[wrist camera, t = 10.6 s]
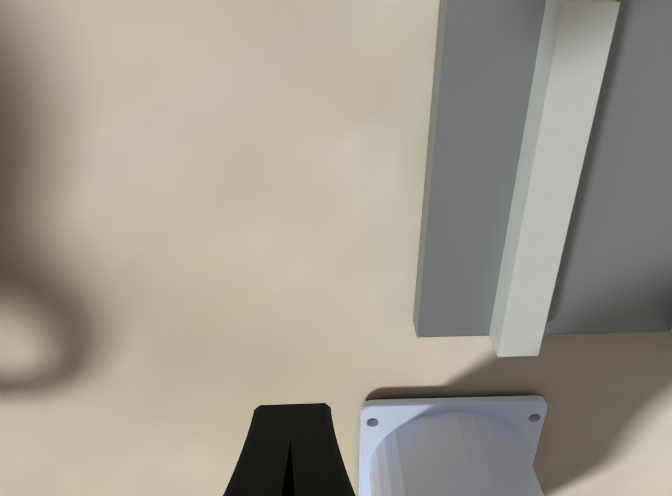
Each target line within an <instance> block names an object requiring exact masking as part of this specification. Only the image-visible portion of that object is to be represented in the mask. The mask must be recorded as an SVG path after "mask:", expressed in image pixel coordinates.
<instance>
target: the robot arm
mask: <svg viewBox="0 0 672 496" xmlns="http://www.w3.org/2000/svg"><path fill="white" fill-rule="evenodd" d="M547 409H548V408H547V403H546V401H545V399H544V398H543V397H541V396H537V395H531V396H494V397H457V398H419V399H382V400H368V401H366V402H364V403H363V404H362V406H361V412H360V448H359V483H358V496H544V494H543V492H542V489H541V486H540V484H539V481H538V479H537V476H536V473H535V471H534V468H533V463H534V459H535V455H536V451H537V447H538V443H539V440H540V436H541V432H542V428H543V424H544V420H545V416H546V413H547ZM532 414H534V415H532ZM371 418H375V419H374V420H369V419H371ZM223 496H355V493H354V491H353V488H352V486H351V483H350V480H349V478H348V475H347V472H346V469H345V466H344V463H343V460H342V457H341V453H340V450H339V447H338V443H337V440H336V436H335V432H334V427H333V422H332V416H331V407H329V406H328V405H326V404H325V403H315V404H285V405H260V406H259V407H257V408H256V409H255V410H254V414H253V418H252V422H251V425H250V428H249V432H248V435H247V438H246V441H245V444H244V446H243V449H242V452H241V455H240V457H239V460H238V462H237V465H236V467H235V470H234V472H233V475H232V477H231V479H230V481H229V484H228V486H227V488H226V491H225V493H224V495H223Z"/></svg>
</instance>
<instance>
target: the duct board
mask: <svg viewBox="0 0 672 496" xmlns="http://www.w3.org/2000/svg"><path fill="white" fill-rule="evenodd" d="M413 322H414V327H415V331H416V335H417V337H448V336H489V337H490V339H491V342H492V344H493V347H494V350H495V352H496V355H497V357H511V356H538V355H539V351H540V346H541V342H542V338H543V334H573V333H615V332H657V331H670V332H671V333H672V0H440V6H439V18H438V30H437V42H436V54H435V66H434V78H433V89H432V101H431V113H430V125H429V137H428V149H427V161H426V173H425V185H424V197H423V209H422V221H421V233H420V245H419V257H418V269H417V280H416V292H415V304H414V316H413Z"/></svg>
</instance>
